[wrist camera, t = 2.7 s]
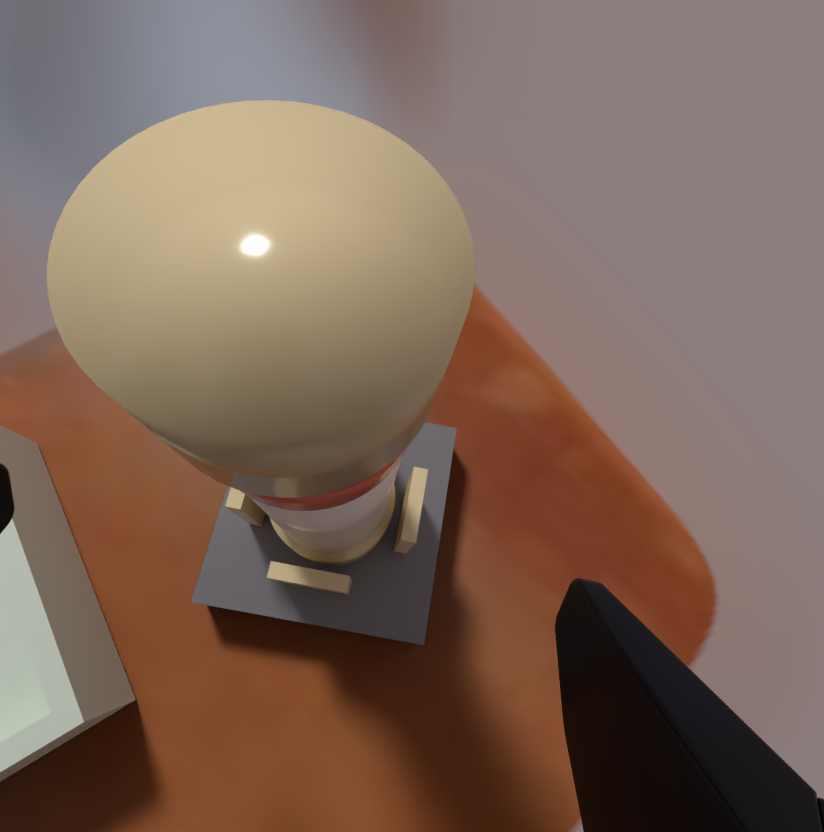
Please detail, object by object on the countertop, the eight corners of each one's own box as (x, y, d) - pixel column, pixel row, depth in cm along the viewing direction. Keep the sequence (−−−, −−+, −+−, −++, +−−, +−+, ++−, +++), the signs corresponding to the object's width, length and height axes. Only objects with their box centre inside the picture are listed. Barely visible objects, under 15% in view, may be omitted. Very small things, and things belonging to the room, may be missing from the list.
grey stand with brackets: (418, 641, 16) (438, 655, 12) (205, 602, 16) (150, 601, 12) (449, 441, 19) (475, 394, 15) (266, 405, 19) (238, 346, 14)
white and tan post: (379, 575, 15) (442, 485, 4) (263, 554, 15) (-39, 391, 4) (400, 465, 17) (496, 143, 5) (294, 444, 17) (143, 67, 5)
